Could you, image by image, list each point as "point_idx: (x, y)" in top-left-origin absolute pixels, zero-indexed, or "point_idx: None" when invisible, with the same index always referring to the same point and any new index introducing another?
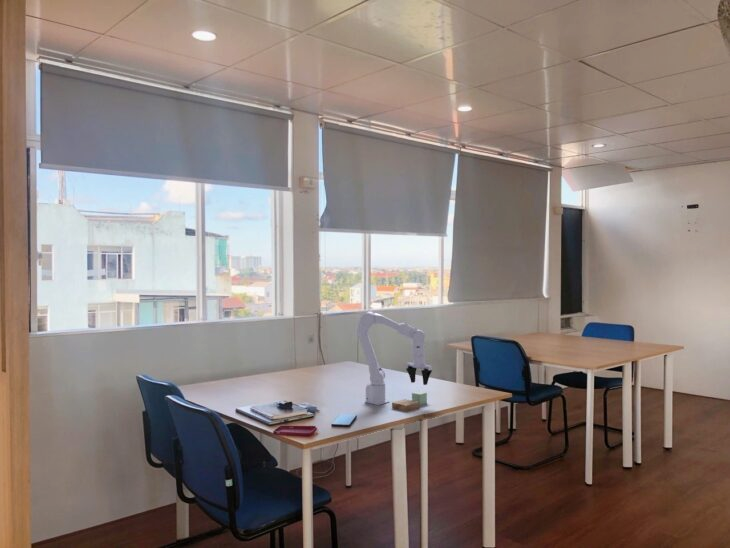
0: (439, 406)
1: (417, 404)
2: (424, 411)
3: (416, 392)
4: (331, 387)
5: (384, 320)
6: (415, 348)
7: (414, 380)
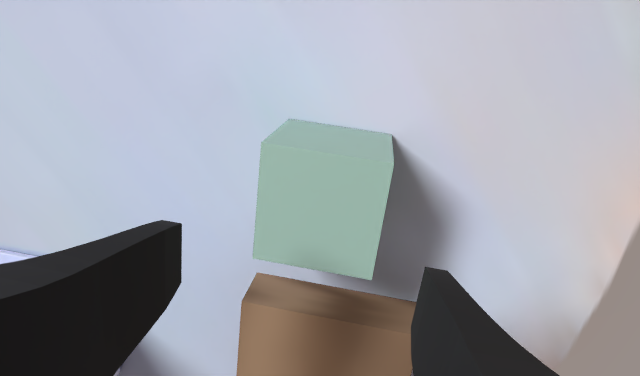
0: (562, 173)
1: None
2: None
3: (280, 215)
4: None
5: None
6: None
7: (167, 247)
